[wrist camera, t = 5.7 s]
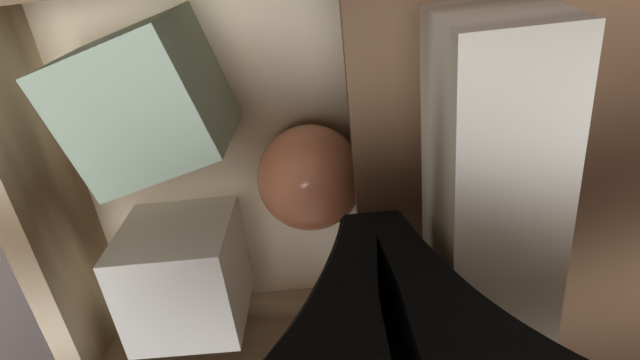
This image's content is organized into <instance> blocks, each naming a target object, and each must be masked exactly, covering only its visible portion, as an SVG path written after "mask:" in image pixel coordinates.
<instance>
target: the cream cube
mask: <svg viewBox="0 0 640 360" xmlns="http://www.w3.org/2000/svg"><path fill="white" fill-rule="evenodd" d="M93 270H94V273H95V275H96V278H97V280H98V283H99V286H100V288H101V291H102V293H103V296H104V298H105V301H106V304H107V306H108V309H109V311H110V314H111V317H112V319H113V322H114V324H115V327H116V329H117V332H118V335H119V337H120V340H121V342H122V345H123V348H124V350H125V353H126V355H127V358H128V360H136V359H149V358H161V357H174V356H186V355H198V354H211V353H223V352H235V351H241V348H242V343H243V337H244V332H245V326H246V321H247V315H248V310H249V304H250V298H251V293H252V287H253V282H254V275H253V270H252V266H251V261H250V256H249V251H248V246H247V242H246V237H245V232H244V227H243V222H242V217H241V213H240V208H239V203H238V198H237V195H232V196H222V197H211V198H201V199H190V200H180V201H169V202H159V203H148V204H137V205H134V206H133V208H132V209H131V211H130V212H129V214H128V215H127V217H126V219H125V220H124V222H123V223H122V225H121V226H120V228H119V229H118V231H117V232H116V234H115V235H114V237H113V238H112V240H111V241H110V243H109V244H108V246H107V248H106V249H105V251H104V252H103V254H102V255H101V257H100V258H99V260H98V261H97V263H96V264H95V266H94V267H93Z"/></svg>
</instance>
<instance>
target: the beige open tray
mask: <svg viewBox="0 0 640 360" xmlns="http://www.w3.org/2000/svg"><path fill="white" fill-rule="evenodd" d="M186 1H189V3H190V5H191V7H192V9H193V11H194V13H195V15H196V17H197V19H198V21H199V24H200V26H201V28H202V30H203V32H204V34H205V36H206V38H207V40H208V42H209V44H210V46H211V49H212V51H213V53H214V55H215V57H216V59H217V61H218V63H219V65H220V67H221V69H222V72H223V74H224V76H225V78H226V80H227V82H228V84H229V86H230V88H231V90H232V92H233V94H234V97H235V99H236V101H237V103H238V105H239V107H240V109H241V111H242V114H241V116H240V119H239V121H238V124H237V126H236V129H235V131H234V134H233V136H232V139H231V141H230V144H229V146H228V148H227V151H226V153H225V156H224V158H223V160H222V161H219V162H216V163H214V164H211V165H208V166H205V167H203V168H200V169H197V170H194V171H192V172H189V173H186V174H183V175H181V176H178V177H175V178H172V179H170V180H167V181H164V182H161V183H159V184H156V185H153V186H150V187H148V188H145V189H142V190H139V191H137V192H134V193H131V194H128V195H125V196H123V197H120V198H117V199H114V200H112V201H109V202H106V203H103V204H101V205H100V204H99V203H98V201H97V200H96V198H95V197H94V196H93V194H92V193H91V191H90V190H89V188H88V187H87V185H86V184H85V182H84V181H83V179H82V178H81V176H80V175H79V173H78V172H77V170H76V169H75V167H74V166H73V164H72V163H71V161H70V160H69V159H68V157H67V156H66V154H65V153H64V151H63V150H62V148H61V147H60V145H59V144H58V142H57V141H56V139H55V138H54V136H53V135H52V133H51V132H50V130H49V129H48V127H47V126H46V125H45V123H44V122H43V120H42V119H41V117H40V116H39V114H38V113H37V111H36V110H35V108H34V107H33V105H32V104H31V102H30V101H29V99H28V98H27V96H26V95H25V93H24V92H23V91H22V89H21V88H20V86H19V85H18V83H17V82H16V79H18V78H20V77H22V76H24V75H26V74H28V73H30V72H32V71H34V70H36V69H38V68H40V67H42V66H44V65H46V64H48V63H49V62H51V61H53V60H55V59H57V58H59V57H61V56H63V55H65V54H67V53H69V52H71V51H73V50H75V49H77V48H79V47H81V46H83V45H85V44H88V43H90V42H92V41H95V40H97V39H99V38H102V37H104V36H106V35H109V34H111V33H114V32H116V31H118V30H121V29H123V28H125V27H128V26H130V25H132V24H135V23H137V22H139V21H142V20H144V19H146V18H149V17H151V16H154V15H156V14H158V13H161V12H163V11H165V10H168V9H170V8H172V7H175V6H177V5H179V4H182V3H184V2H186ZM307 124H313V125H321V126H325V127H328V128H331V129H333V130H335V131H337V132H338V133H340V134H341V135H343V136H344V137H345V138H346V139H347V140H348V141H349V142H350V143H351V138H350V126H349V115H348V103H347V91H346V79H345V67H344V55H343V43H342V31H341V19H340V7H339V0H0V245H1V248H2V250H3V252H4V254H5V256H6V258H7V260H8V262H9V264H10V266H11V268H12V271H13V273H14V275H15V277H16V279H17V281H18V283H19V285H20V287H21V289H22V291H23V293H24V296H25V298H26V300H27V302H28V304H29V306H30V308H31V310H32V312H33V314H34V316H35V319H36V321H37V323H38V325H39V327H40V329H41V331H42V333H43V335H44V337H45V339H46V341H47V344H48V346H49V348H50V350H51V352H52V354H53V356H54V358H55V360H128V358H127V355H126V353H125V350H124V348H123V345H122V342H121V340H120V337H119V335H118V332H117V329H116V327H115V324H114V322H113V319H112V317H111V314H110V311H109V309H108V306H107V304H106V301H105V298H104V296H103V293H102V291H101V288H100V286H99V283H98V280H97V278H96V275H95V273H94V270H93V267H94V266H95V264H96V263H97V261H98V260H99V258H100V257H101V255H102V254H103V252H104V251H105V249H106V248H107V246H108V244H109V243H110V241H111V240H112V238H113V237H114V235H115V234H116V232H117V231H118V229H119V228H120V226H121V225H122V223H123V222H124V220H125V219H126V217H127V215H128V214H129V212H130V211H131V209H132V208H133V206H134V205H137V204H148V203H159V202H169V201H180V200H190V199H201V198H211V197H222V196H232V195H237V198H238V203H239V208H240V213H241V217H242V222H243V227H244V232H245V237H246V242H247V246H248V251H249V256H250V261H251V266H252V270H253V275H254V282H253V287H252V293H251V298H250V304H249V310H248V315H247V321H246V326H245V332H244V337H243V343H242V348H241V351H235V352H223V353H211V354H198V355H186V356H174V357H161V358H149V359H136V360H263V358H264V357H265V356H266V355H267V354H268V353H269V351H270V350H271V349H272V348H273V346H274V345H275V344H276V343H277V341H278V340H279V339H280V337H281V336H282V335H283V334H284V332H285V331H286V330H287V328H288V327H289V326H290V324H291V323H292V321H293V320H294V318H295V317H296V316H297V314H298V312H299V311H300V309H301V308H302V306H303V305H304V303H305V301H306V300H307V298H308V296H309V295H310V293H311V291H312V289H313V287H314V285H315V284H316V282H317V280H318V278H319V276H320V274H321V272H322V270H323V268H324V266H325V264H326V261H327V259H328V257H329V255H330V252H331V250H332V247H333V245H334V242H335V239H336V236H337V233H338V229H339V224H340V222H339V223H337V224H335V225H333V226H331V227H328V228H325V229H322V230H315V231H306V230H299V229H295V228H292V227H289V226H287V225H285V224H283V223H282V222H280V221H279V220H277V219H276V218H275V217H274V216H273V215H272V214H271V213H270V212H269V211H268V209H267V208H266V206H265V205H264V203H263V201H262V199H261V197H260V194H259V190H258V185H257V170H258V164H259V161H260V158H261V156H262V154H263V152H264V150H265V149H266V147H267V146H268V144H269V143H270V142H271V141H272V140H273V139H274V138H275V137H276V136H278V135H279V134H280V133H282V132H284V131H285V130H288V129H290V128H292V127H296V126H299V125H307ZM349 214H357V210H356V205H355V207H354V208H353V210H352V211H351V212H350V213H349Z"/></svg>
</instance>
